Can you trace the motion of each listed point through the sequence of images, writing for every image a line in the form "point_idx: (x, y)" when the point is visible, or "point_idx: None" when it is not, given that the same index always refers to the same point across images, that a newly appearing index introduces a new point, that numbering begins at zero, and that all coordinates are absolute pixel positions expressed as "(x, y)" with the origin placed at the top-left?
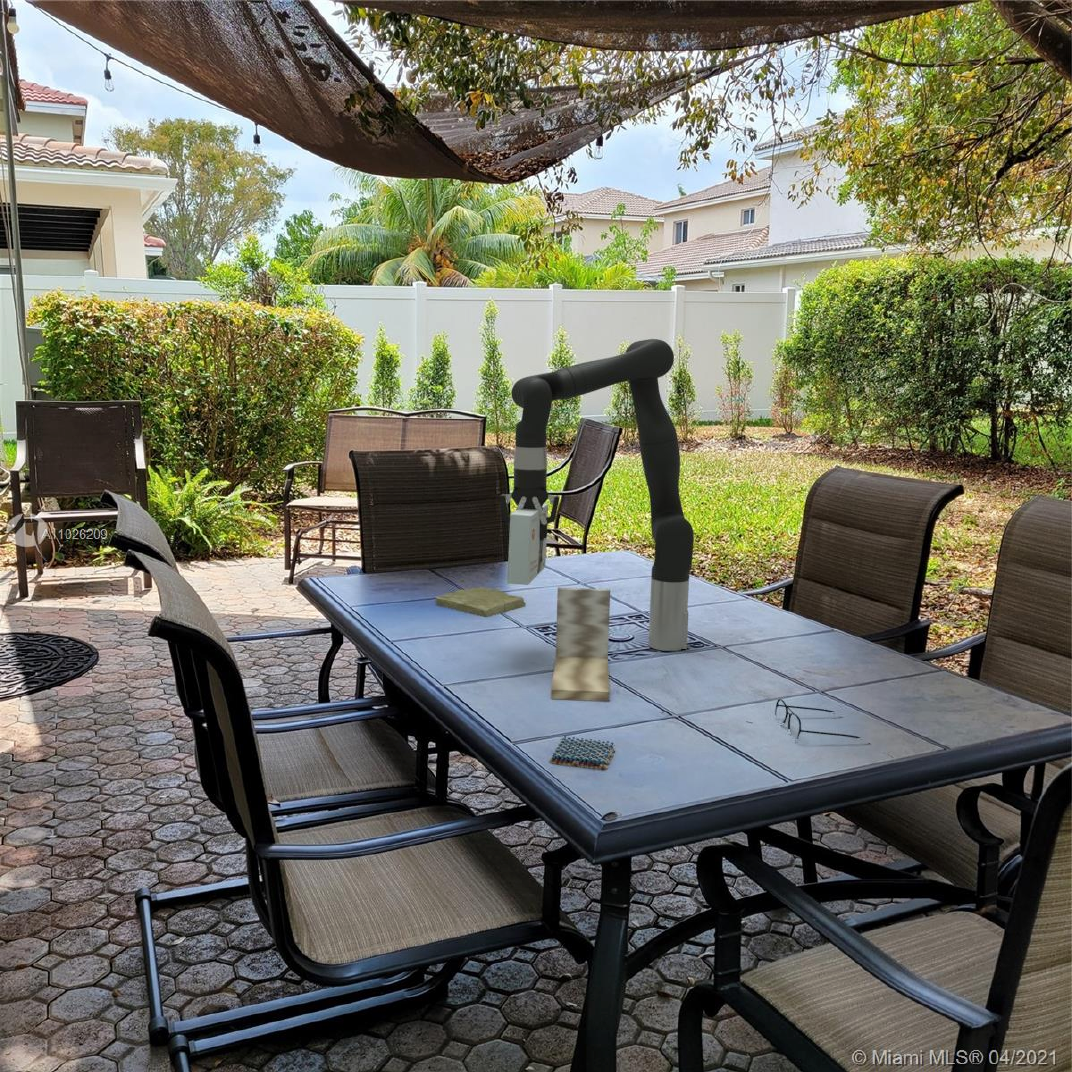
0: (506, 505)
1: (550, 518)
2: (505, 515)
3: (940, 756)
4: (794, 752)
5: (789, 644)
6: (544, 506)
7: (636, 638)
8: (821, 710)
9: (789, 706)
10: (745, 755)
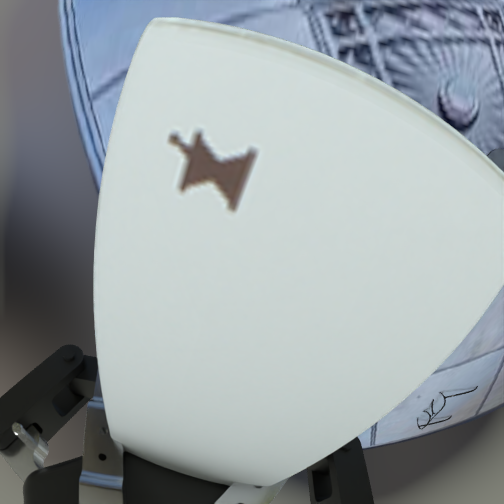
0: (51, 437)
1: (310, 468)
2: (72, 398)
3: (463, 422)
4: (404, 426)
5: None
6: (341, 446)
7: (479, 121)
8: (468, 392)
9: (451, 396)
10: (374, 429)
